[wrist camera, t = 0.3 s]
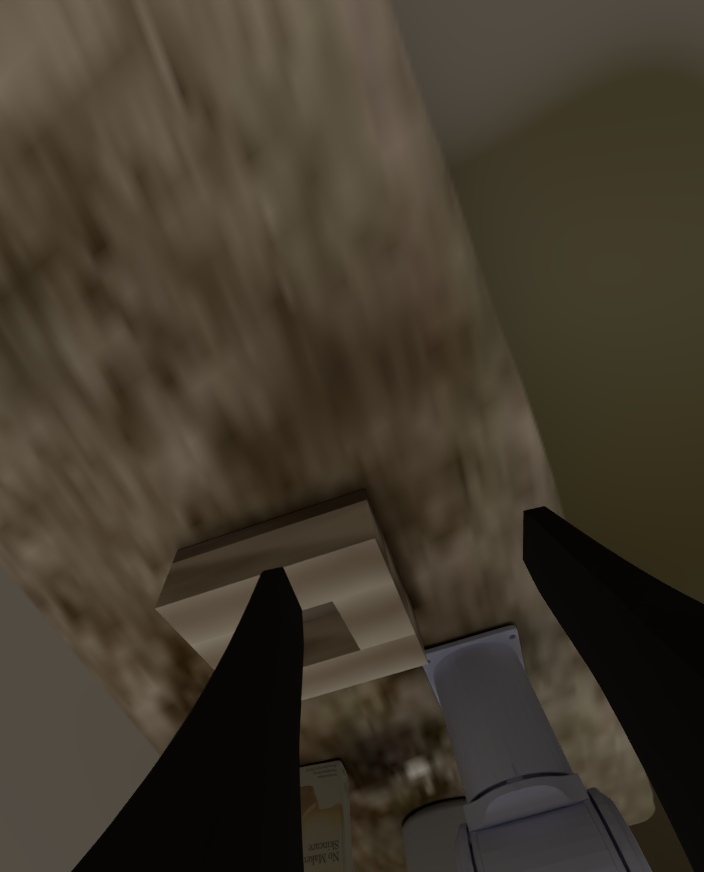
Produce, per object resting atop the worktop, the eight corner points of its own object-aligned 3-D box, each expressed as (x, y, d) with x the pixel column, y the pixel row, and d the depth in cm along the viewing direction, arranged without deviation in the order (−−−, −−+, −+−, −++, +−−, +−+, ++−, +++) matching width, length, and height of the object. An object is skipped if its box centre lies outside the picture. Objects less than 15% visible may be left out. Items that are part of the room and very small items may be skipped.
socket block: (413, 609, 28) (428, 663, 25) (262, 655, 29) (256, 713, 26) (364, 488, 22) (374, 538, 19) (177, 550, 23) (154, 608, 20)
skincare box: (340, 756, 39) (352, 958, 28) (348, 774, 41) (362, 967, 31) (278, 769, 39) (267, 975, 28) (289, 786, 41) (283, 983, 31)
